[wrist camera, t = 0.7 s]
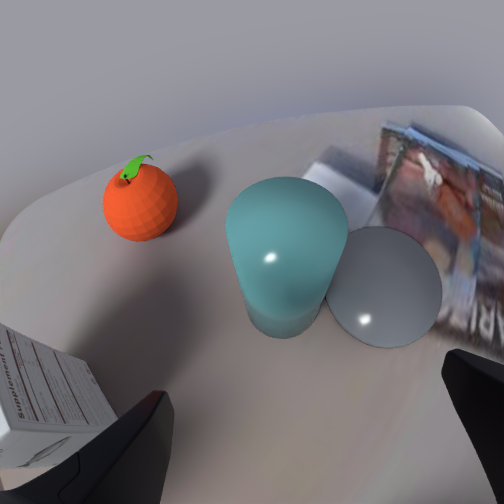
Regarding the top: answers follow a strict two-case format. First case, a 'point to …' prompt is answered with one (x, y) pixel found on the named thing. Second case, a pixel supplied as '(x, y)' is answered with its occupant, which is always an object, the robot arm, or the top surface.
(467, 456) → the top surface
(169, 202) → the clementine
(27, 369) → the supplement box
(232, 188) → the top surface
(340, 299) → the coaster
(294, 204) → the cylinder
